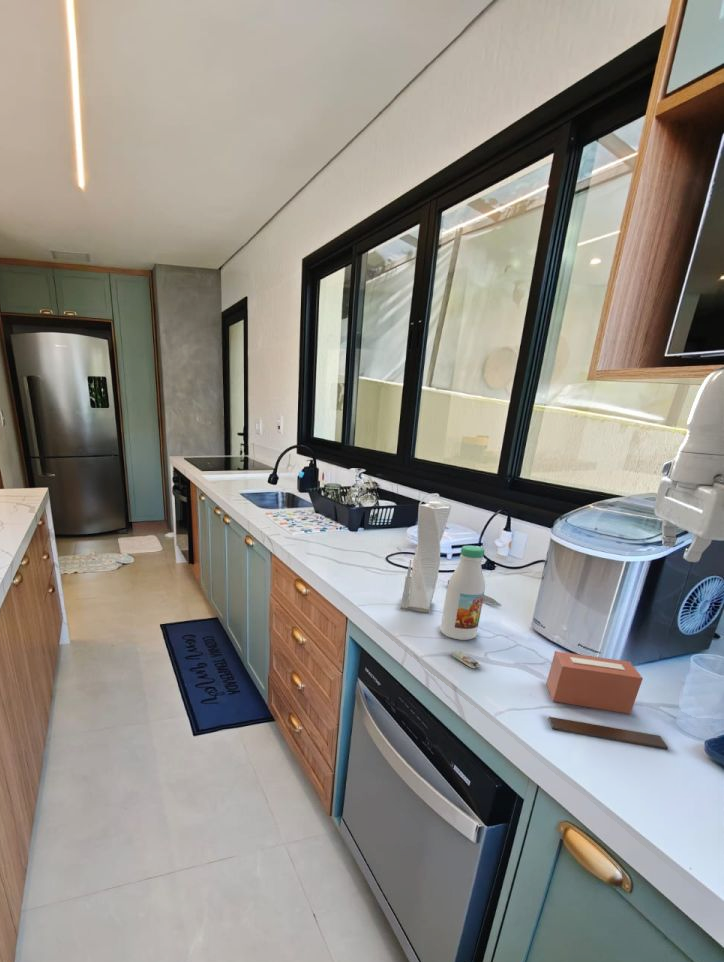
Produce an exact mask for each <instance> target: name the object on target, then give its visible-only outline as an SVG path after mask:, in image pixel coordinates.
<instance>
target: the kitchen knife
mask: <svg viewBox="0 0 724 962" xmlns="http://www.w3.org/2000/svg"><path fill="white" fill-rule="evenodd" d="M449 580H450V579H448V581H447V584H448V583H449ZM483 602H485V603H488V604H490V605H493V606H498V607H501V606H502V604H501V603H500V602H498V601H497V600H496V599H495V598H493V597H491V596H489V595H486V594H484V597H483Z"/></svg>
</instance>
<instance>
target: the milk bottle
mask: <svg viewBox="0 0 724 962" xmlns="http://www.w3.org/2000/svg"><path fill="white" fill-rule="evenodd" d="M484 556H485V549H484V548H483V547H481V546H478V545H462V547H461V548H460V555H459V557H460V561H459V563H458V565H457V566H456V568H455V569H454V571H453V572H452V574H451V576H450V578H449V579H448V580H449V583H448V582H447V588H446V592H445V599H444V604H443V610H442V616H441V622H440V632H441V634H443V635H444V636H446V637H449V638H451V639H455V640H461V641H468V640H472V639H474V638H475V637H476V636H477V633H478V629H479V623H480V619H481V613H482V608H483V603H484V601H483V597H484V595H485V590H486V580H485V576H484V573H483V568H482V561H483V560H484Z"/></svg>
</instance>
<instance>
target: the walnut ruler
mask: <svg viewBox="0 0 724 962" xmlns="http://www.w3.org/2000/svg"><path fill="white" fill-rule="evenodd" d="M548 721H549V725H550V727H551V730H557V731H562V732H567V733H573V734H579V735H585V736H589V737H590V736H591V737H595V738H602V739H607V740H613V741H617V742H623V743H629V744H635V745H641V746H645V747H646V746H647V747H651V748H658V749H662V750H663V749H664V750H668V749H669V747H668V745H667V744H666V742H665V741H664V739H663V737H662V736H661V735H658V734H653V733H646V732H641V731H635V730H629V729H623V728H618V727H611V726H605V725H600V724H594V723H588V722H583V721H577V720H570V719H565V718H559V717H553V716H548Z"/></svg>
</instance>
